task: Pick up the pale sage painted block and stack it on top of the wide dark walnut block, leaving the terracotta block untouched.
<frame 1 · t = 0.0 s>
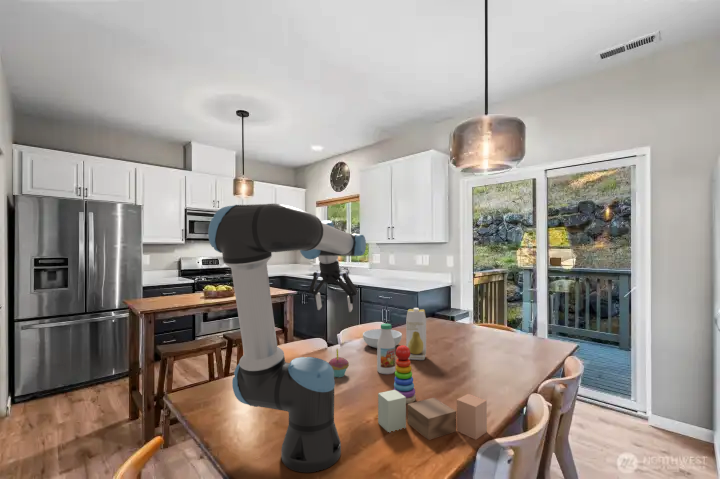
hand: (335, 309, 140), 28 cm above the table, tool tilted 20°, fingers open, 13 cm apart
walnut block: (431, 427, 102), on the table
juice carton: (416, 358, 165), on the table
terracotta block: (471, 431, 99), on the table
serving bowl: (382, 346, 184), on the table
milk bottle: (386, 371, 147), on the table
cupcake: (338, 375, 143), on the table
stacking toy: (404, 400, 120), on the table
sage block: (391, 425, 103), on the table
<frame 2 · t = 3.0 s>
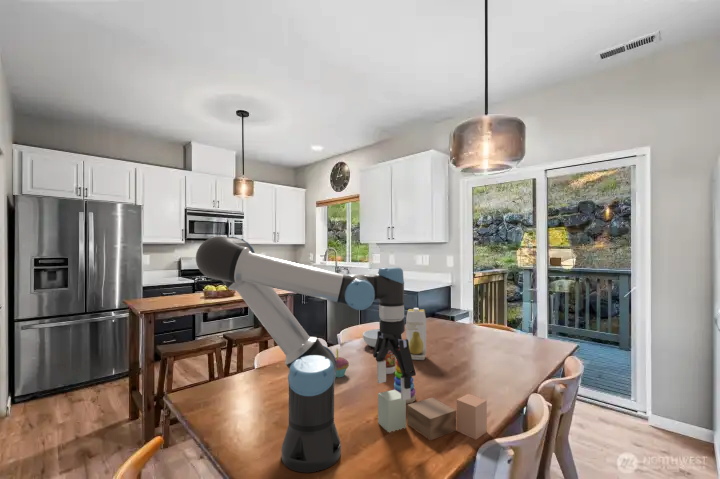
hand: (393, 390, 103), 10 cm above the table, tool pointing down, fingers open, 13 cm apart
nothing on the table moved.
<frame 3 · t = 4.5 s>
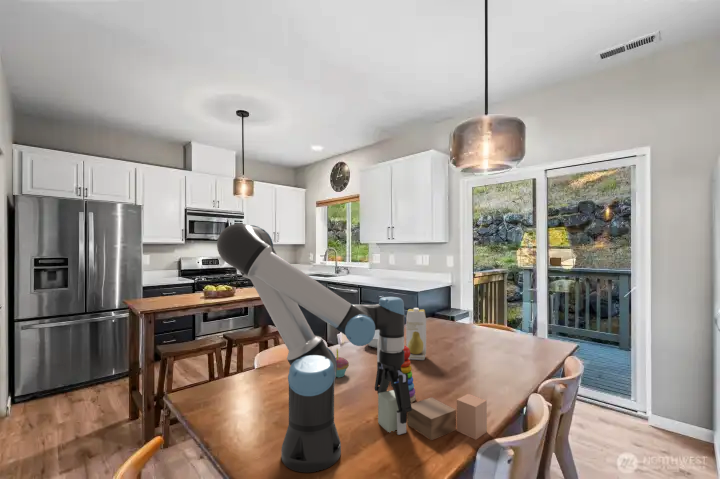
hand: (391, 424, 103), 0 cm above the table, tool pointing down, fingers open, 10 cm apart
nothing on the table moved.
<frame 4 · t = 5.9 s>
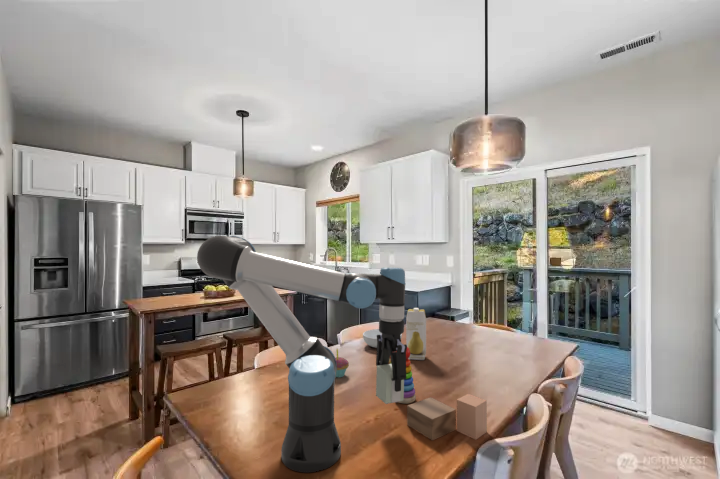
hand: (389, 396, 103), 9 cm above the table, tool pointing down, fingers closed on sage block, 6 cm apart
sage block: (389, 398, 103), point 8 cm above the table, touching gripper
everything else where it was.
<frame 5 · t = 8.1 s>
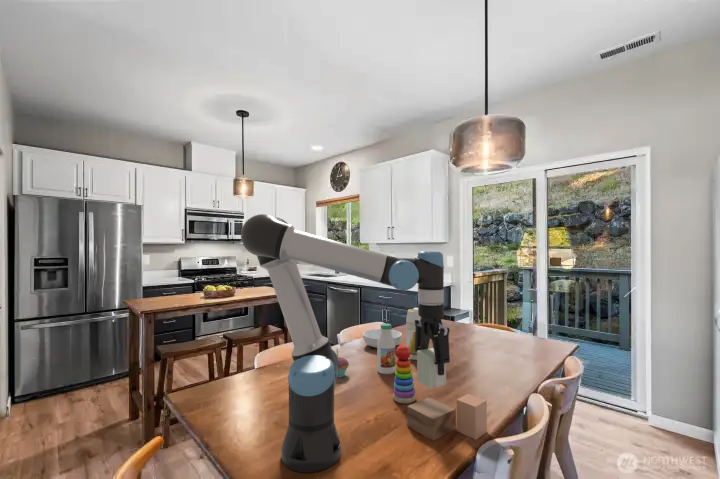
hand: (431, 381, 102), 13 cm above the table, tool pointing down, fingers closed on sage block, 6 cm apart
sage block: (431, 382, 102), point 13 cm above the table, touching gripper
everything else where it was.
when the fingers open (6 cm above the table, at t = 10.3 s): sage block stays where it is, resting on walnut block.
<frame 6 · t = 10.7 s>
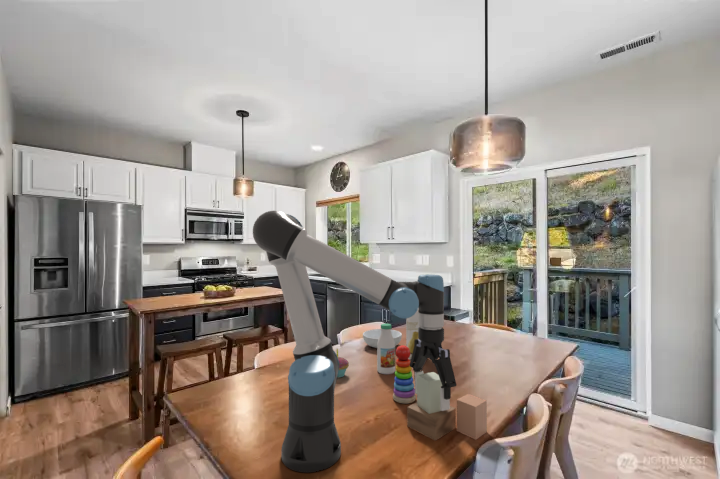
hand: (431, 400, 102), 8 cm above the table, tool pointing down, fingers open, 11 cm apart
walnut block: (431, 428, 102), on the table, touching sage block
sage block: (431, 407, 102), point 6 cm above the table, touching walnut block
everything else where it was.
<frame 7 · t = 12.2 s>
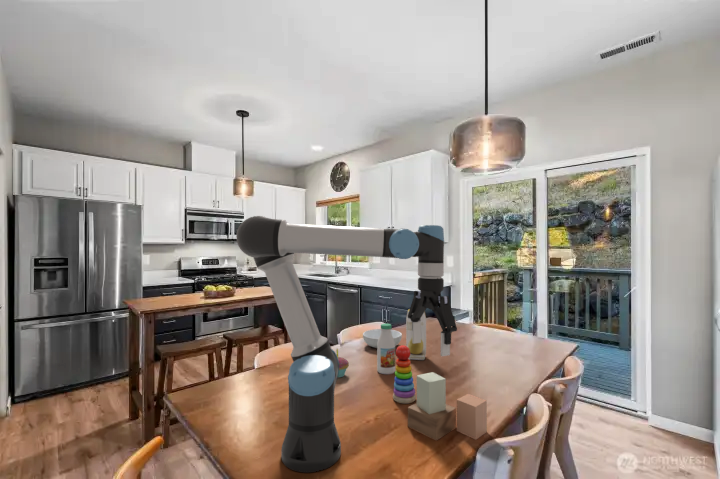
hand: (430, 348, 102), 23 cm above the table, tool pointing down, fingers open, 13 cm apart
nothing on the table moved.
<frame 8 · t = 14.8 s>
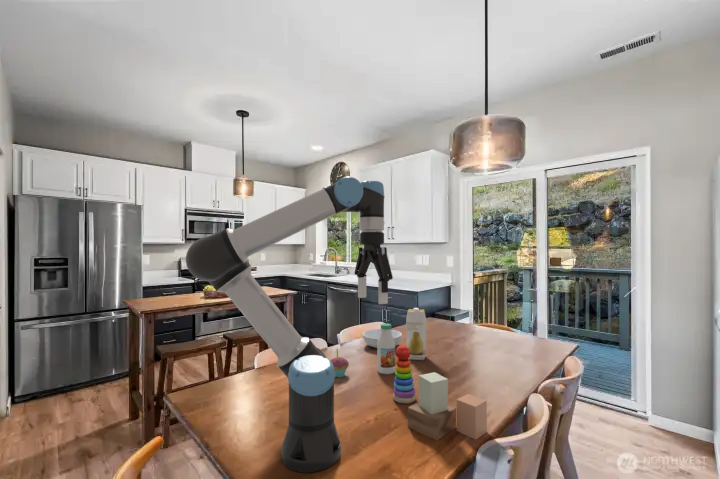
hand: (372, 300, 106), 37 cm above the table, tool pointing down, fingers open, 13 cm apart
nothing on the table moved.
at the end: sage block inside the target area on the walnut block (0.3 cm from its centre), point 6.0 cm above the walnut block's base; sage block tilted 0°; the gripper is holding nothing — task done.
